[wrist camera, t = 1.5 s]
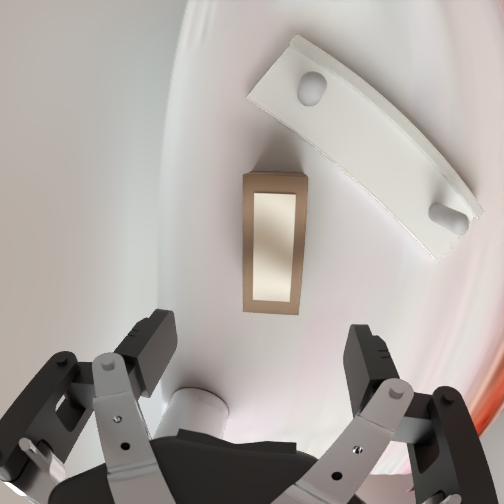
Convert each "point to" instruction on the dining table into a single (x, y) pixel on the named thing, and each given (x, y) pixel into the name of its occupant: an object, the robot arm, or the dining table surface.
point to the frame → (273, 240)
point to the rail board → (368, 143)
